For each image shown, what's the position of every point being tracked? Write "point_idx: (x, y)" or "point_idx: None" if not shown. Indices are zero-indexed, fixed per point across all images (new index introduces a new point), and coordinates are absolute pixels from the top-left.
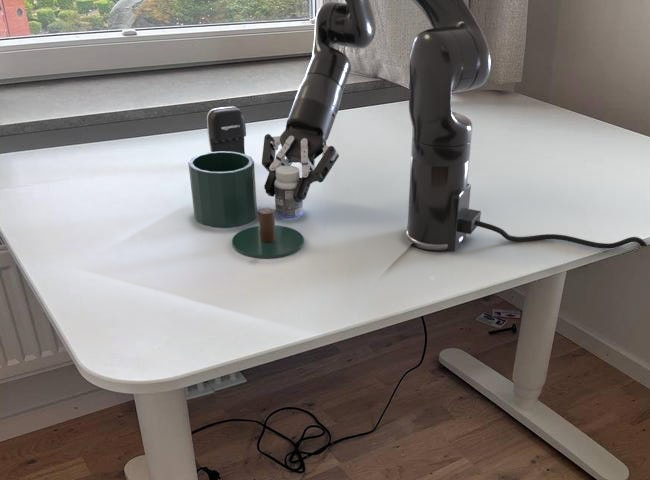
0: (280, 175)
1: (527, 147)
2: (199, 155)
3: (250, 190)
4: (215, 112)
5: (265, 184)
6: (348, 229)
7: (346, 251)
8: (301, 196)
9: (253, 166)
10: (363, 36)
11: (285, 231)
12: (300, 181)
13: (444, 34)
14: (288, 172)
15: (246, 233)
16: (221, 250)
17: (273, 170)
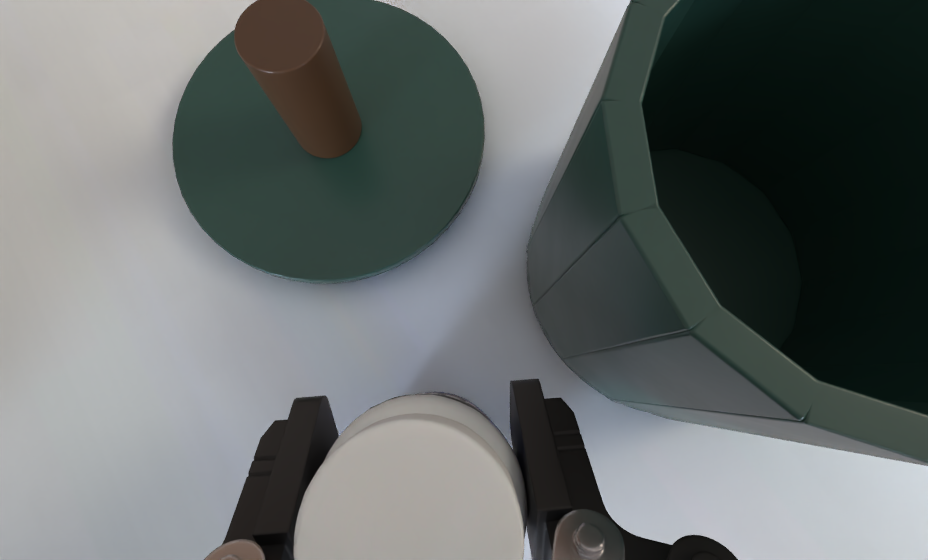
0: (417, 417)
1: None
2: None
3: (560, 235)
4: None
5: (572, 422)
6: (91, 487)
7: (12, 271)
8: (274, 429)
9: (647, 300)
10: None
11: (307, 236)
12: (275, 499)
13: None
14: (360, 480)
15: (446, 129)
16: (473, 27)
17: (564, 519)
